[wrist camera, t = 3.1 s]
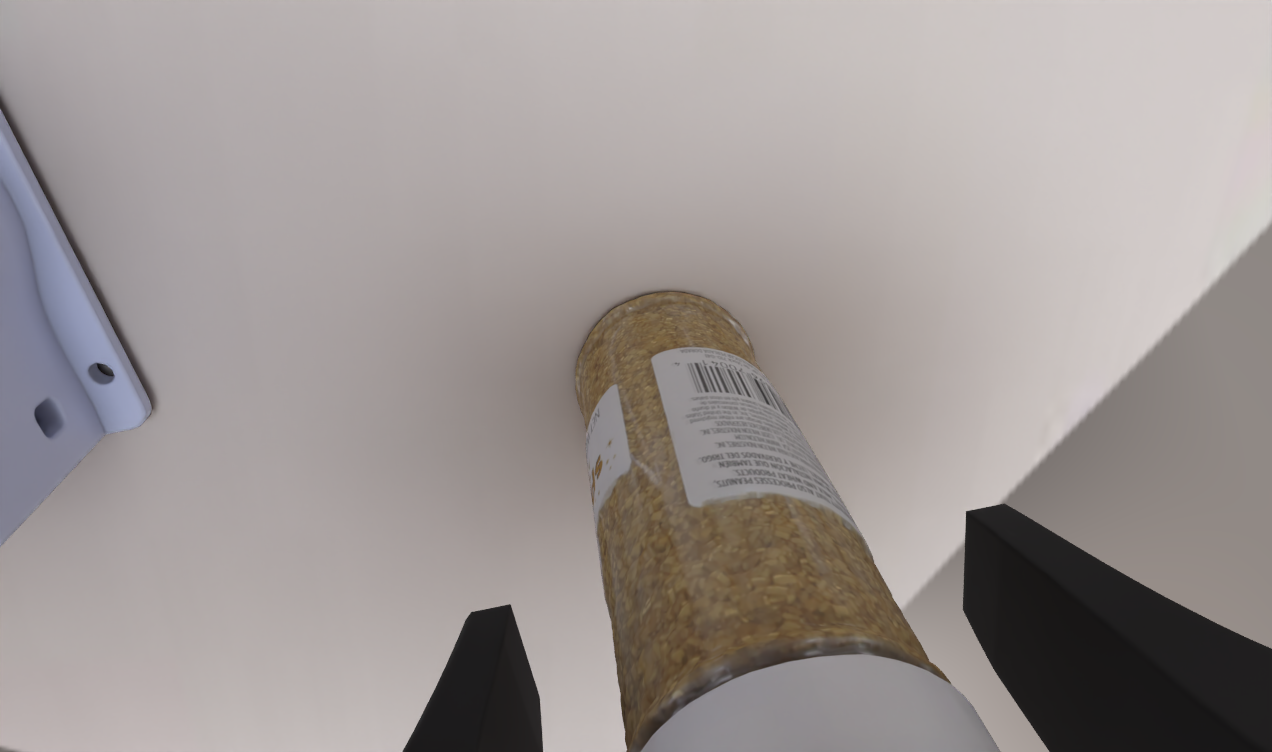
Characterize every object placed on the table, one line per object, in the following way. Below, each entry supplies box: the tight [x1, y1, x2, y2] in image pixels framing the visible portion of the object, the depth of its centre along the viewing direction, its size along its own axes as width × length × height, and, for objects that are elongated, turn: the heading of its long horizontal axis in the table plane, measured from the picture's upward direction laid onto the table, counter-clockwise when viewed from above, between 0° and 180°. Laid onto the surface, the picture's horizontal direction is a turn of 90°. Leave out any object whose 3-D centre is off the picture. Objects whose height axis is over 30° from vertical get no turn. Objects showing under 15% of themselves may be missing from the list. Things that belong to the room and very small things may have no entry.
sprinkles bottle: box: [575, 292, 1000, 752], centre depth 14 cm, size 5×5×14 cm
